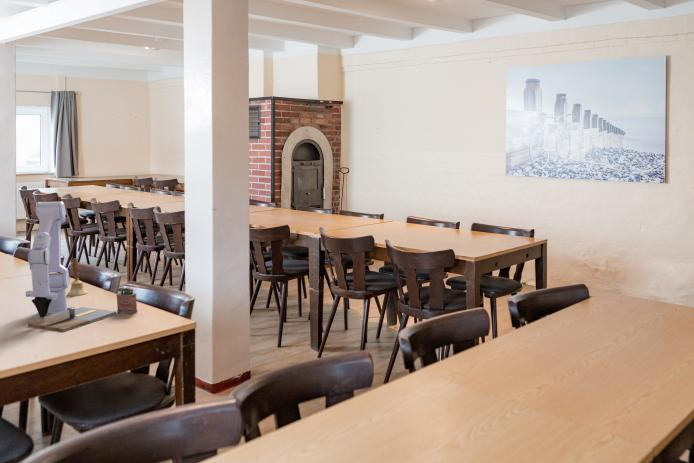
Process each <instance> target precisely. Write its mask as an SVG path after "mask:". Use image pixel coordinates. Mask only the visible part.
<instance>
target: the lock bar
mask: <svg viewBox="0 0 694 463" xmlns="http://www.w3.org/2000/svg"><path fill="white" fill-rule="evenodd" d="M75 309H76V308H75V307H73V306H71V307H67V310H63V311H60V312H57V313H53V314H51V313H49V314H47V316H45V317H44V319H45V324H48V325H49V324H52V323H55V322H58V321H61V320H64V319H67V318H73V317H75Z"/></svg>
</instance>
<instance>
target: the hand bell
mask: <svg viewBox="0 0 694 463" xmlns="http://www.w3.org/2000/svg"><path fill="white" fill-rule="evenodd" d="M71 266H72V271H73V274H74V280H73V281H72V282H71V283H70V285H71V286H70V290H69V292H68V293H67V296H69V297H78V296H79V297H80V296H85V295H87V294H88V291H87V290H86V289H85V287H84V285H83V281H81V280H80V278H79V267H80V266H79V262H78V260H77V258H73V259H72V264H71Z"/></svg>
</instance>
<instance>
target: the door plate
mask: <svg viewBox="0 0 694 463" xmlns="http://www.w3.org/2000/svg"><path fill="white" fill-rule="evenodd" d="M114 315H117V311H113V310H106V309H99V308H90V307H82V306H81V307H79V308H75V317H73V318H74V319H81V320H89V323H88V324H90V323H94V322H97V321H99V320H102V319H106V318H109V317H112V316H114Z"/></svg>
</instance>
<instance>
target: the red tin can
mask: <svg viewBox="0 0 694 463" xmlns="http://www.w3.org/2000/svg"><path fill="white" fill-rule="evenodd" d="M118 292H119V293H118ZM115 296H116V303H117V304H116V305H117V310H116V313H117V312H118V313H117V314H136V313H138V308H137V307H138V306H137V293H136V292H134V288H132V287H128V286H126V287H118V288H117V293H116V294H115Z"/></svg>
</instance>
